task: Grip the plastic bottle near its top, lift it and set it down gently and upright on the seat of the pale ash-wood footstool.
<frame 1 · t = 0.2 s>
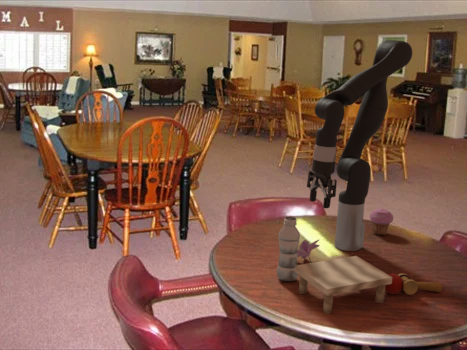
hand: (319, 204, 195), 18 cm above the table, tool pointing down, fingers open, 8 cm apart
lily: (304, 264, 190), on the table
footstool: (340, 296, 166), on the table
kendama: (411, 293, 171), on the table
cupcake: (379, 233, 222), on the table
plastic bottle: (286, 280, 177), on the table
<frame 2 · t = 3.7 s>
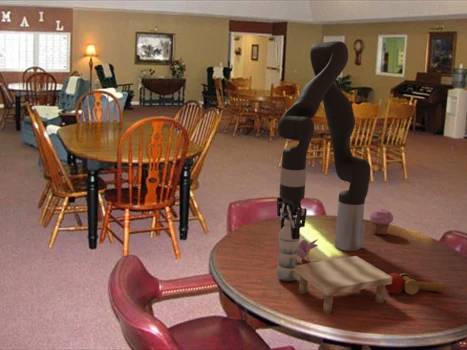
hand: (289, 235, 173), 15 cm above the table, tool pointing down, fingers closed on plastic bottle, 6 cm apart
plastic bottle: (286, 280, 177), on the table, touching gripper
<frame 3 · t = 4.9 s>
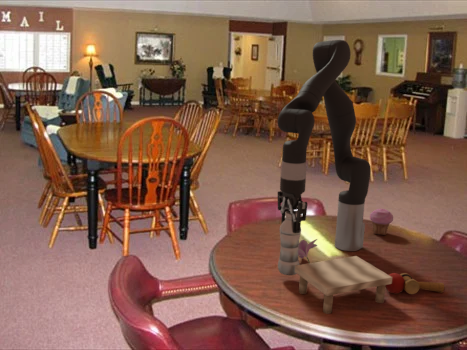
hand: (290, 228, 173), 17 cm above the table, tool pointing down, fingers closed on plastic bottle, 6 cm apart
plastic bottle: (288, 274, 176), point 2 cm above the table, touching gripper
everything else where it was.
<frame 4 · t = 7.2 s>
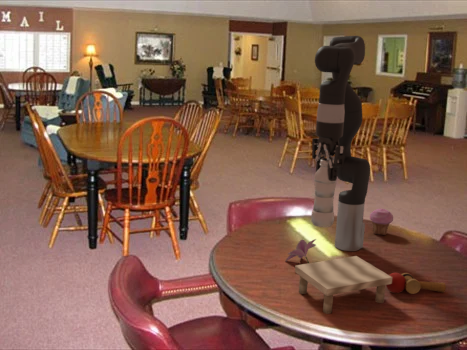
hand: (325, 177, 162), 35 cm above the table, tool pointing down, fingers closed on plastic bottle, 6 cm apart
plastic bottle: (321, 226, 166), point 20 cm above the table, touching gripper
when the fingers open (24 cm above the table, at t = 10.7 s): plastic bottle drops 1 cm, resting on footstool.
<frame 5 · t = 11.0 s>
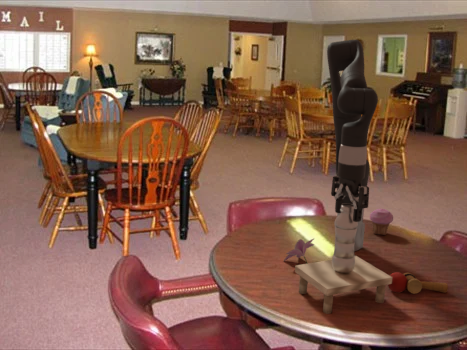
hand: (347, 216, 160), 25 cm above the table, tool pointing down, fingers open, 8 cm apart
plastic bottle: (342, 271, 164), point 8 cm above the table, touching footstool
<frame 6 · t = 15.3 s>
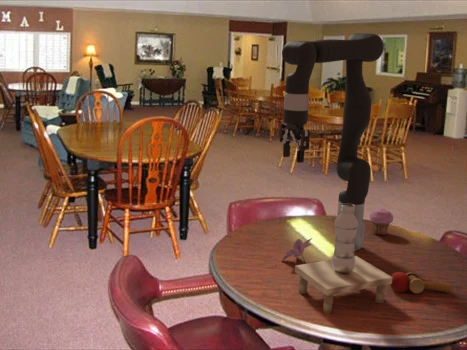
hand: (292, 159, 178), 36 cm above the table, tool pointing down, fingers open, 8 cm apart
at the end: plastic bottle inside the target area on the footstool (0.1 cm from its centre), point 7.8 cm above the footstool's base; plastic bottle tilted 0°; the gripper is holding nothing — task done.
